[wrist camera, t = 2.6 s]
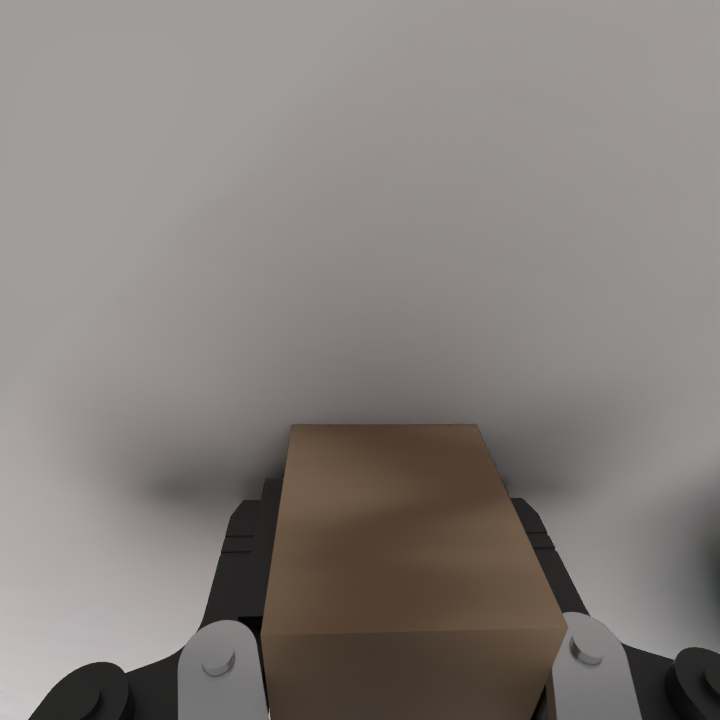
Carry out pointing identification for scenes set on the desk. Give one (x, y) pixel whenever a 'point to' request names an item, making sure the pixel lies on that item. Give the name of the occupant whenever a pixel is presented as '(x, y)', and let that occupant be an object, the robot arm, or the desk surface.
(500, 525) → the walnut block
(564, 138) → the desk surface
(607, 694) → the robot arm
